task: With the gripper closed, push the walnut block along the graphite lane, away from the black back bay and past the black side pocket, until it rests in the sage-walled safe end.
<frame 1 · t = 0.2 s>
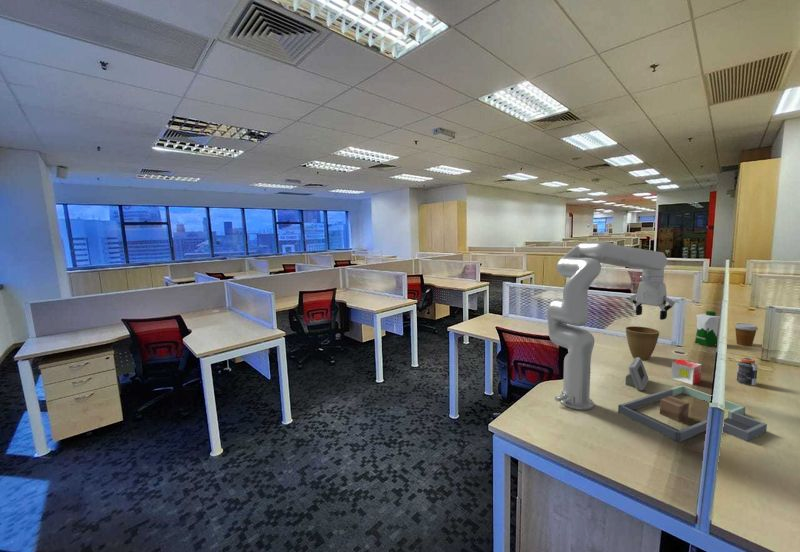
hand: (650, 316, 143), 31 cm above the table, fingers open, 9 cm apart
disposable coffee cup: (744, 344, 189), on the table
pill bottle: (746, 383, 143), on the table
milk carton: (705, 344, 192), on the table
digital clock: (638, 384, 145), on the table
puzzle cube: (685, 380, 148), on the table
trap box: (680, 413, 121), on the table
plant pot: (640, 357, 176), on the table
walnut block: (673, 416, 119), resting in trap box
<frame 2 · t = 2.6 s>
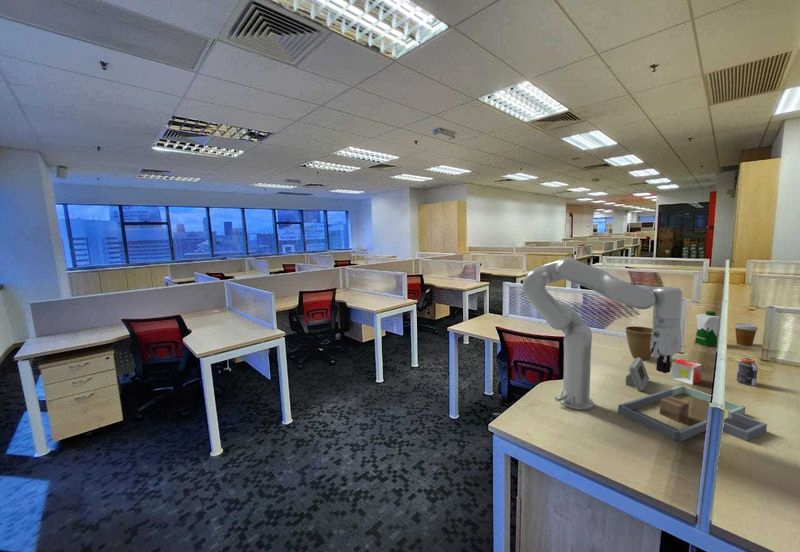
hand: (663, 371, 114), 19 cm above the table, fingers closed
nothing on the table moved.
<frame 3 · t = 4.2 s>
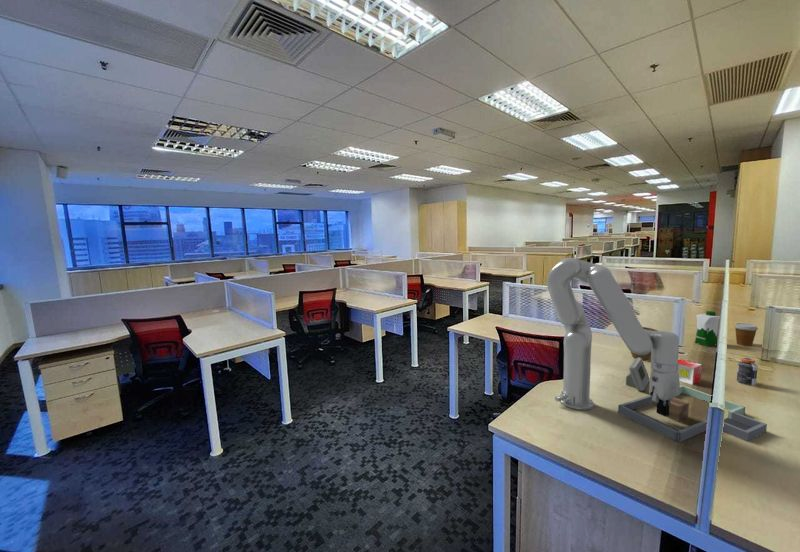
hand: (662, 414, 116), 3 cm above the table, fingers closed
nothing on the table moved.
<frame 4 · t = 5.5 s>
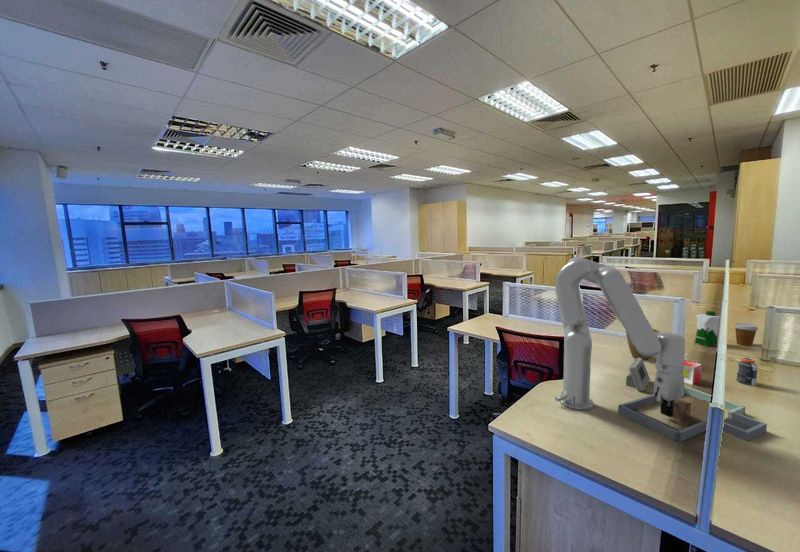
hand: (666, 414, 117), 2 cm above the table, fingers closed
walnut block: (675, 415, 120), resting in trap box, touching gripper
everything else where it was.
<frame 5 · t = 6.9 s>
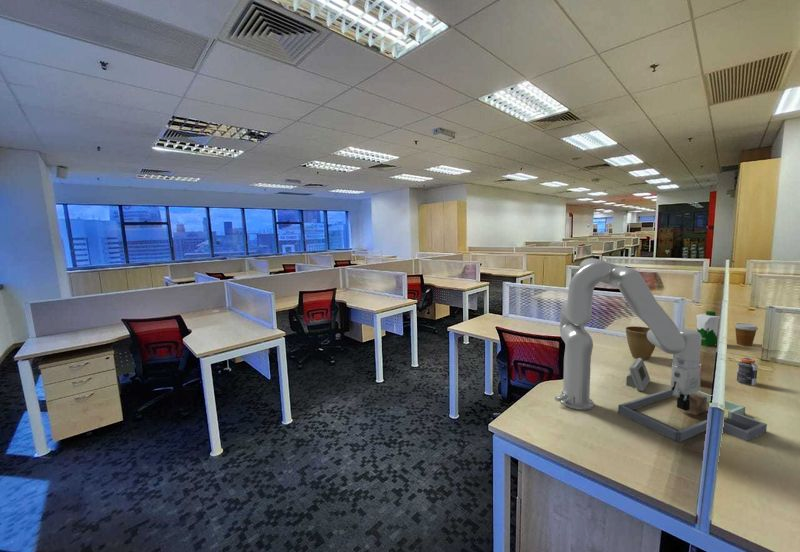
hand: (682, 408, 121), 2 cm above the table, fingers closed
walnut block: (691, 409, 123), resting in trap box, touching gripper
everything else where it was.
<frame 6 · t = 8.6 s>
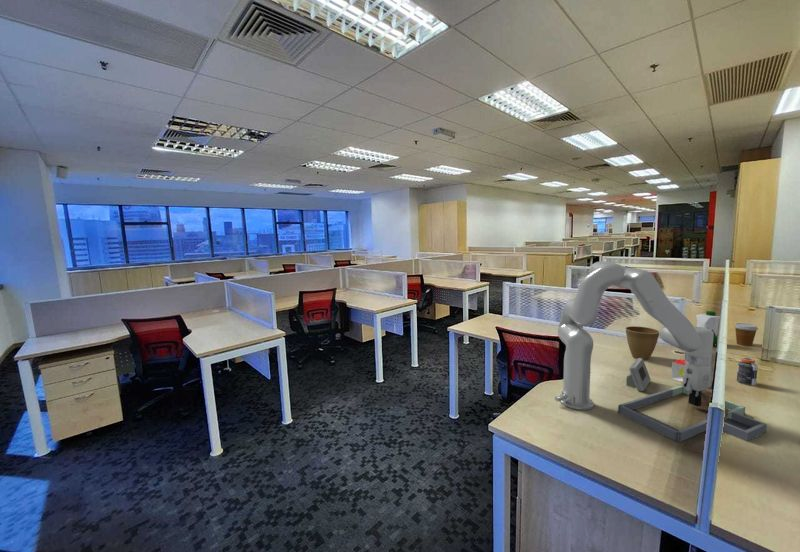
hand: (694, 404, 124), 2 cm above the table, fingers closed
walnut block: (703, 405, 126), resting in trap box, touching gripper
everything else where it was.
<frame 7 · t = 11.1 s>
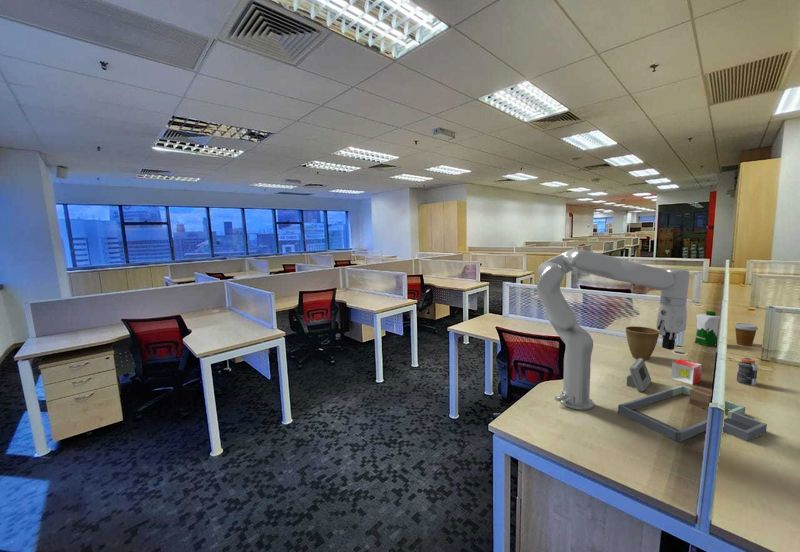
hand: (667, 348, 121), 25 cm above the table, fingers closed
walnut block: (703, 405, 126), resting in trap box
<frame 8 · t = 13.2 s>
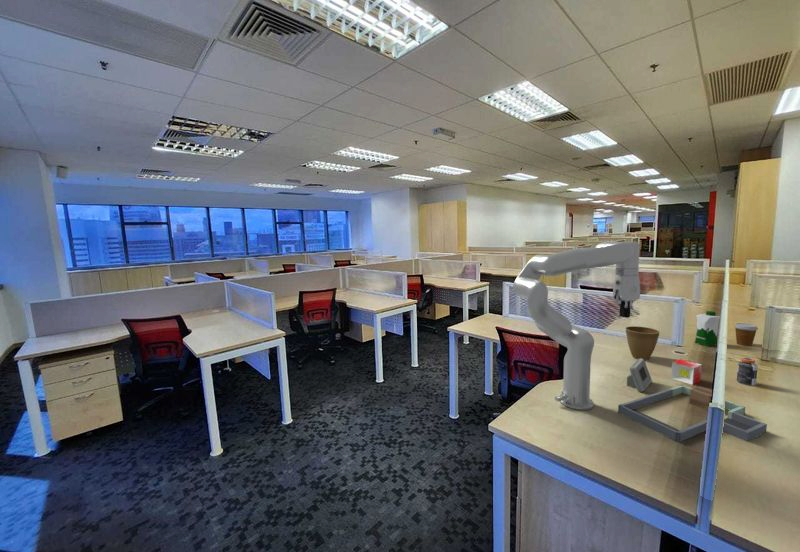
hand: (624, 316, 130), 35 cm above the table, fingers closed
at the end: walnut block inside the target area (1.2 cm from its centre), resting in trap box; walnut block tilted 0° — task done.
